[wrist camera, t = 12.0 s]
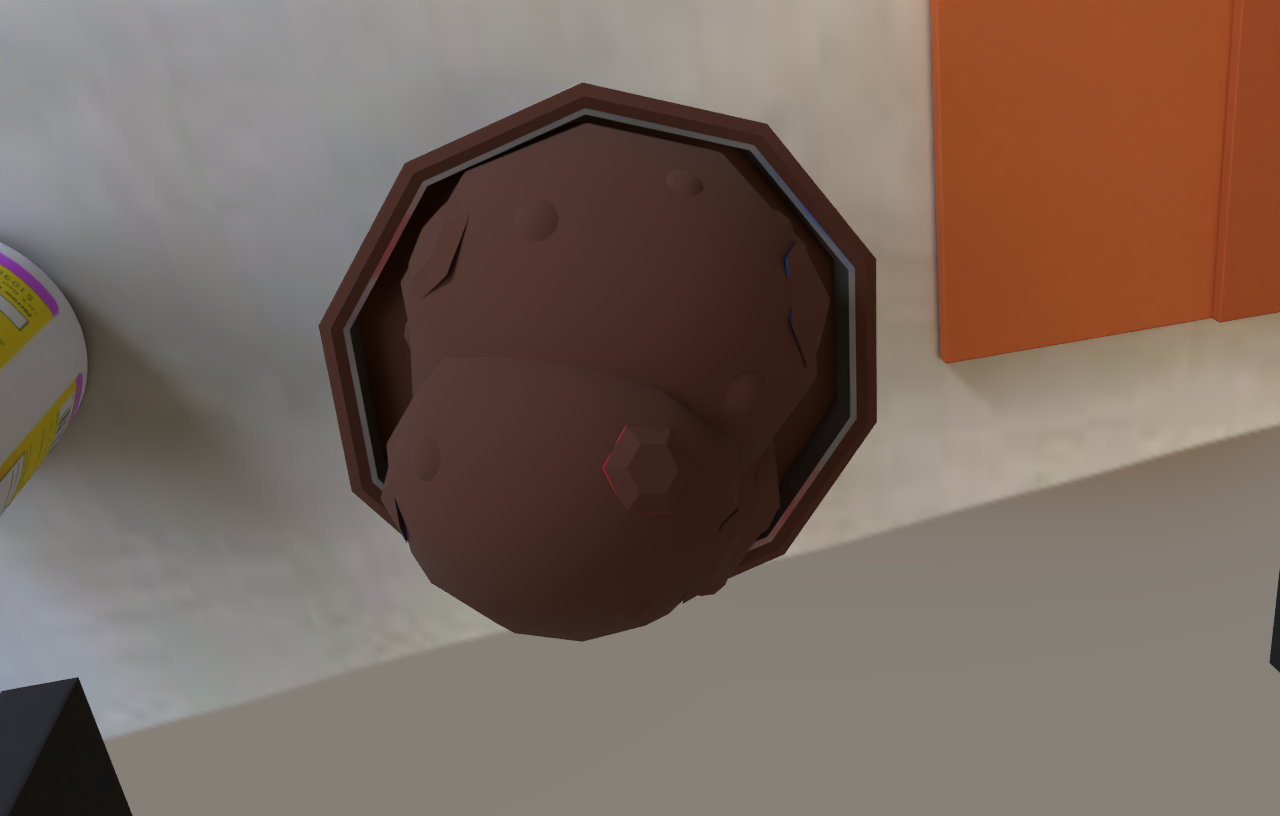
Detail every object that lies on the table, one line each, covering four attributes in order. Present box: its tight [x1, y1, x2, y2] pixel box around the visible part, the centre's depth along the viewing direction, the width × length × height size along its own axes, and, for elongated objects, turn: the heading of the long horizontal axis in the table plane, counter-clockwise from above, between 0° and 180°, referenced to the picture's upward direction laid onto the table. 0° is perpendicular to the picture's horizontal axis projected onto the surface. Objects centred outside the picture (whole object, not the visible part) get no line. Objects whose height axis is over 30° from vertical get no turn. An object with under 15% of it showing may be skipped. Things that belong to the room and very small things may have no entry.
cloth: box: [930, 0, 1280, 363], centre depth 32 cm, size 12×16×1 cm
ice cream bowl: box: [319, 83, 877, 641], centre depth 25 cm, size 11×11×15 cm
